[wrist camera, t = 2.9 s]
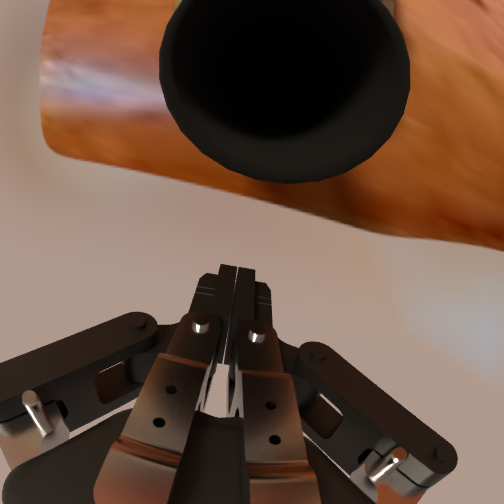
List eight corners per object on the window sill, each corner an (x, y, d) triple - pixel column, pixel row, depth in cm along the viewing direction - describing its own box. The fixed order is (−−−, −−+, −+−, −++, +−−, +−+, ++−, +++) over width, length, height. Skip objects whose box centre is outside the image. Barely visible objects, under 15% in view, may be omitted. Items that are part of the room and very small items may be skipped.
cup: (338, 49, 17) (417, -11, 6) (324, 153, 20) (390, 202, 9) (224, 33, 16) (177, -48, 6) (211, 138, 20) (148, 170, 9)
